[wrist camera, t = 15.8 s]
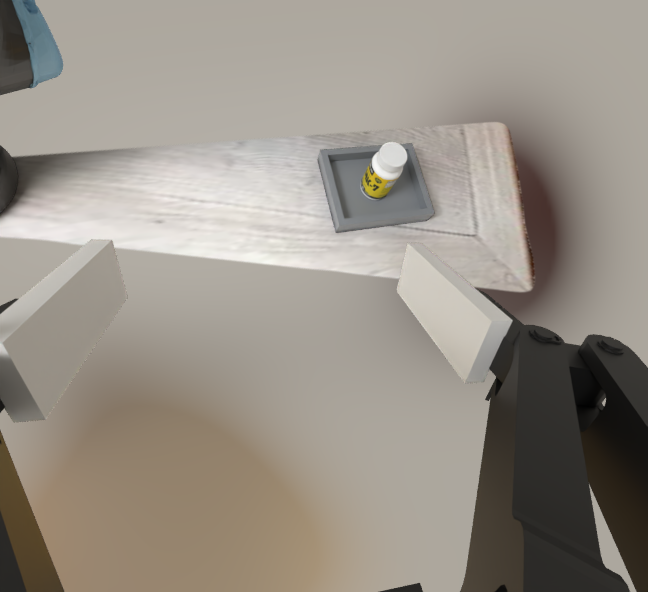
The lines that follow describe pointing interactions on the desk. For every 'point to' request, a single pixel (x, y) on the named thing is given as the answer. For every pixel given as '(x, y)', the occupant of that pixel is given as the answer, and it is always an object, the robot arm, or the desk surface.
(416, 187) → the tray
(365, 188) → the supplement bottle
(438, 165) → the desk surface
